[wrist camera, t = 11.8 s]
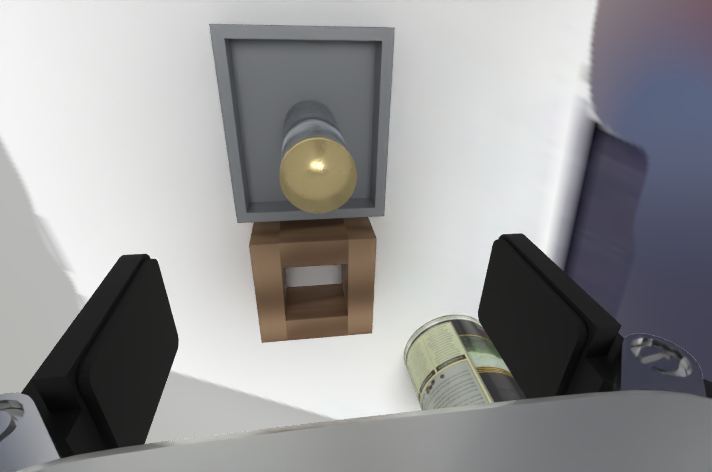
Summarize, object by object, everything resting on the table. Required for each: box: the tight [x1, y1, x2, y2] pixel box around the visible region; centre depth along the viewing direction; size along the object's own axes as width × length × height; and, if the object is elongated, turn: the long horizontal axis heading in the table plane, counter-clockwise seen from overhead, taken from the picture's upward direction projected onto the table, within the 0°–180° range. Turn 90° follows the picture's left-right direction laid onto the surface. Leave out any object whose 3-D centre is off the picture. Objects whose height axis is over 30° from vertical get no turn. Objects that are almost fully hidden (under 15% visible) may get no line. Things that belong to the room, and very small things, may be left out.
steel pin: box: [280, 100, 357, 213], centre depth 25 cm, size 4×4×12 cm
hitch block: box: [249, 217, 376, 343], centre depth 35 cm, size 10×10×5 cm
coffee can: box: [404, 315, 527, 410], centre depth 39 cm, size 10×10×14 cm
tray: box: [209, 24, 395, 223], centre depth 30 cm, size 14×12×3 cm
